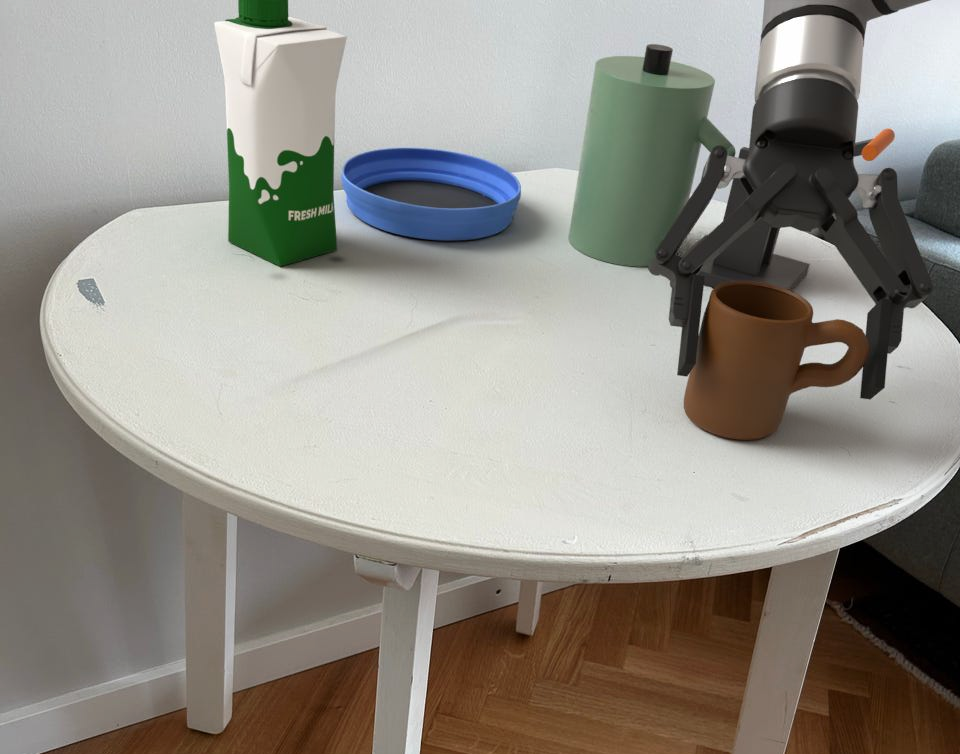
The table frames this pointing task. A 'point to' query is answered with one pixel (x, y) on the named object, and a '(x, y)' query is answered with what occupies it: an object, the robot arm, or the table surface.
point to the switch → (874, 145)
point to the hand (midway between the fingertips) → (779, 382)
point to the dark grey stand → (752, 252)
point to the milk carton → (280, 131)
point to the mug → (761, 358)
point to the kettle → (640, 154)
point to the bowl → (430, 193)
